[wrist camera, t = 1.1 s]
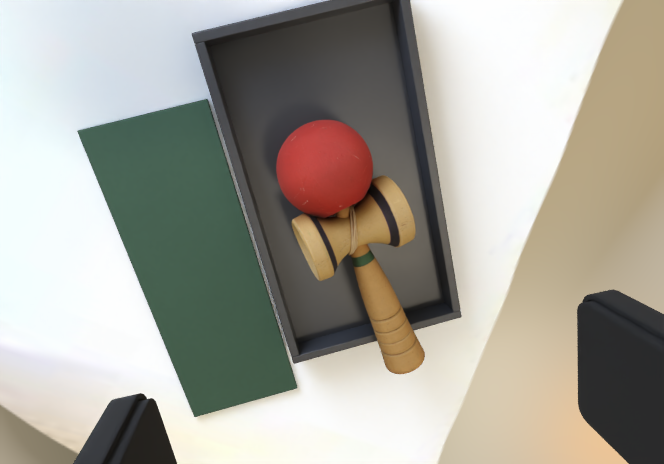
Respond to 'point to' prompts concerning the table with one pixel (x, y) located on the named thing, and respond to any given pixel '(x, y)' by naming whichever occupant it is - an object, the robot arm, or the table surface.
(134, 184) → the mat
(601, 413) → the robot arm
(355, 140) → the kendama
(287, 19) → the dark grey flat tray
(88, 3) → the table surface
